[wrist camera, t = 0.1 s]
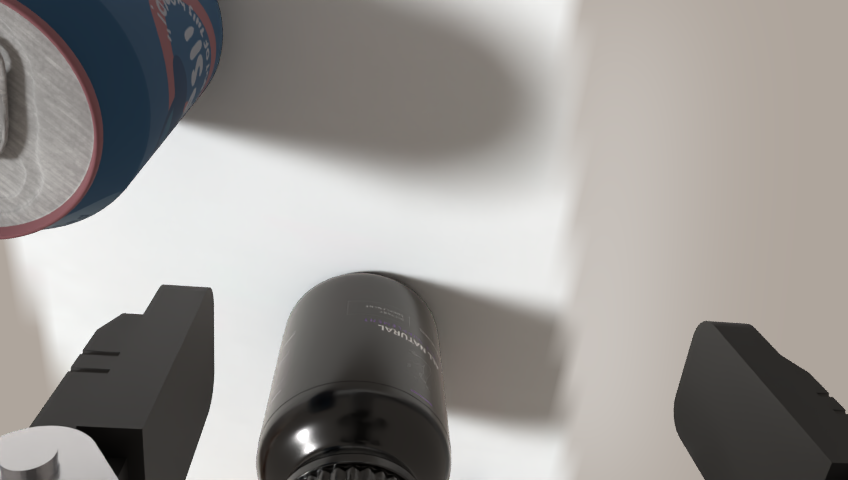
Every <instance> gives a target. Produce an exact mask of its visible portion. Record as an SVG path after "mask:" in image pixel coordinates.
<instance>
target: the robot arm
mask: <svg viewBox="0 0 848 480" xmlns="http://www.w3.org/2000/svg"><path fill="white" fill-rule="evenodd" d="M213 384H214V299H213V292H212V289H211V288H208V287H192V286H177V285H161V286H160V288H159V289H158V291H157V293H156V294H155V296H154V298H153V299H152V301H151V303H150V304H149V306H148V308H147V309H146V311H145V313H144V314H143V315H142V314H126V313H123V314H121V315H120V316H118V317H117V318H115V319H113V320H112V321H110V322H109V323H107V324H105V325H104V326H102V327H101V328H99V329H98V330H97V331H96V332H95V333H94V335H93V336H92V338H91V339H90V341H89V342H88V344H87V345H86V346H85V348H84V349H83V354H80V355H79V356H78V358H77V359H76V361H75V362H74V364H73V365H72V367H71V371H70V372H69V371H68V372H67V374H66V375H65V377H64V378H63V379H62V381H61V382H60V384H59V385H58V387H57V388H56V390H55V391H54V392H53V394H52V395H51V397H50V398H49V400H48V401H47V403H46V404H45V405H44V407H43V408H42V410H41V411H40V413H39V414H38V416H37V417H36V418H35V420H34V421H33V423H32V424H31V426H30V427H29V428H25V429H21V430H17V431H14V432H11V433H8V434H5V435H3V436H0V480H185V479H186V476H187V473H188V470H189V467H190V465H191V462H192V459H193V456H194V453H195V450H196V447H197V444H198V441H199V438H200V436H201V433H202V430H203V427H204V424H205V421H206V418H207V415H208V412H209V409H210V404H211V399H212V393H213ZM674 421H675V426H676V430H677V433H678V435H679V437H680V439H681V441H682V442H683V444H684V446H685V447H686V449H687V451H688V452H689V454H690V456H691V457H692V459H693V461H694V462H695V464H696V466H697V467H698V469H699V471H700V472H701V474H702V476H703V477H704V479H705V480H848V414H845V409H844V408H843V407H842V406H841V405H840V404H839V403H838V402H837V401H836V400H835V399H834V398H833V397H829V393H828V392H827V391H826V390H825V389H824V388H823V387H822V386H821V385H820V384H819V383H818V382H817V381H816V380H815V379H814V378H813V376H812V375H811V374H809V373H808V372H807V371H805V370H804V369H802V368H800V367H799V366H797V365H796V364H794V363H792V362H791V361H789V360H788V359H786V358H785V357H783V356H781V355H780V354H779V353H778V352H777V351H776V350H775V349H774V348H773V347H772V346H771V345H770V343H768V341H767V340H766V339H765V338H764V337H763V336H762V335H761V334H760V333H759V332H758V331H757V330H756V329H755V328H754V327H753V326H752V325H750V324H741V323H726V322H711V321H704V322H702V323H700V325H698V327H697V328H696V331H695V333H694V335H693V338H692V342H691V346H690V349H689V352H688V356H687V359H686V362H685V366H684V369H683V373H682V376H681V380H680V383H679V387H678V390H677V393H676V397H675V402H674Z"/></svg>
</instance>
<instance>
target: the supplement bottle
mask: <svg viewBox="0 0 848 480" xmlns="http://www.w3.org/2000/svg"><path fill="white" fill-rule="evenodd" d="M256 468H257V476H258V480H449V477H450V471H451V447H450V437H449V428H448V419H447V410H446V401H445V392H444V382H443V373H442V364H441V355H440V346H439V339H438V332H437V327H436V324H435V321H434V318H433V315H432V313H431V311H430V310H429V308H428V306H427V305H426V304H425V302H424V301H423V300H422V299H421V298H420V297H419V296H418V294H416V293H415V292H414V291H413V290H412V289H410V288H409V287H407V286H406V285H404V284H402V283H400V282H398V281H396V280H394V279H391V278H388V277H385V276H381V275H377V274H369V273H353V274H345V275H340V276H337V277H333V278H331V279H328V280H326V281H324V282H322V283H320V284H318V285H316V286H315V287H313V288H312V289H311V290H309V291H308V292H307V293H306V294H305V295H304V296H303V297H302V298H301V299H300V300H299V301H298V302H297V304H296V305H295V307H294V308H293V310H292V312H291V314H290V316H289V319H288V321H287V324H286V328H285V332H284V335H283V339H282V343H281V347H280V352H279V356H278V360H277V365H276V369H275V373H274V378H273V382H272V386H271V391H270V395H269V399H268V404H267V408H266V412H265V417H264V421H263V425H262V430H261V434H260V438H259V444H258V450H257V457H256Z"/></svg>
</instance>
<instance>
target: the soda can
mask: <svg viewBox="0 0 848 480" xmlns="http://www.w3.org/2000/svg"><path fill="white" fill-rule="evenodd" d="M222 40H223V28H222V19H221V13H220V9H219V5H218V2H217V0H0V239H10V238H16V237H21V236H25V235H28V234H32V233H35V232H37V231H40V230H43V229H51V228H56V227H61V226H66V225H69V224H72V223H75V222H78V221H81V220H83V219H86V218H88V217H90V216H92V215H94V214H96V213H97V212H99V211H101V210H102V209H104V208H105V207H106V206H108V205H109V204H111V203H112V202H113V201H114V200H115V199H116V198H118V197H119V196H120V194H121V193H122V192H123V191H124V190H125V189H126V188H127V187H128V185H129V184H130V183H131V181H132V180H133V179H134V178H135V176H136V175H137V174H138V173H139V171H140V170H141V169H142V168H143V166H144V165H145V164H146V163H147V161H148V160H149V159H150V158H151V156H152V155H153V154H154V153H155V151H156V150H157V149H158V148H159V146H160V145H161V144H162V143H163V141H164V140H165V139H166V138H167V136H168V135H169V134H170V133H171V131H172V130H173V129H174V128H175V126H176V125H177V124H178V123H179V121H180V120H181V119H182V117H183V116H184V115H185V114H186V112H187V111H188V110H189V109H190V107H191V106H192V105H193V104H194V102H195V101H196V100H197V99H198V97H199V96H200V95H201V94H202V92H203V91H204V90H205V89H206V87H207V86H208V84H209V83H210V81H211V79H212V77H213V76H214V73H215V71H216V69H217V66H218V63H219V60H220V55H221V50H222Z"/></svg>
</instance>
